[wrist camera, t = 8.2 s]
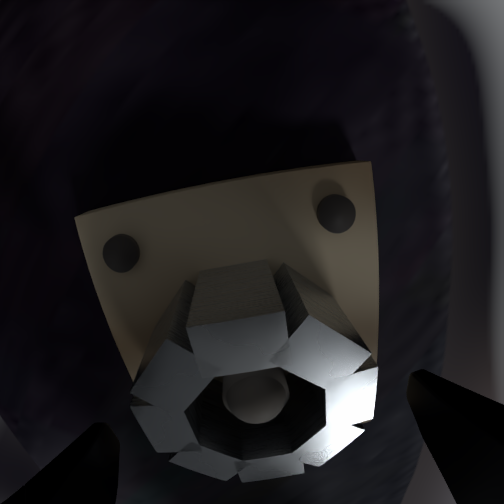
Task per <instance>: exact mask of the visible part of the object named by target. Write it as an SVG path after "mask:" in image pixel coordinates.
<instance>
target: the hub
mask: <svg viewBox="0 0 504 504" xmlns="http://www.w3.org/2000/svg"><path fill="white" fill-rule="evenodd" d="M371 354H372V353H371V351H370V350H369V348H368V347H367V345H366V344H365V342H364V341H363V340H362V338H361V337H360V335H359V334H358V332H357V331H356V329H355V328H354V326H353V325H352V323H351V322H350V320H349V319H348V318H347V316H346V315H345V313H344V312H343V310H342V309H341V307H340V306H339V304H338V303H337V302H336V300H335V299H334V297H333V296H332V295H331V294H329V293H328V292H326V291H325V290H323V289H322V288H320V287H319V286H317V285H316V284H315V283H313V282H312V281H310V280H309V279H307V278H306V277H304V276H303V275H301V274H300V273H298V272H297V271H295V270H294V269H293V268H291V267H290V266H288V265H287V264H285V263H284V262H283V264H282V265H281V266H280V268H279V269H278V270H277V272H276V273H275V274H274V276H272V273H271V270H270V267H269V264H268V261H267V259H264V260H258V261H253V262H247V263H241V264H236V265H230V266H224V267H219V268H213V269H207V270H202V271H199V275H198V279H197V283H196V286H195V285H193V284H192V283H190V282H189V281H187V280H185V281H184V283H183V284H182V286H181V287H180V289H179V290H178V292H177V293H176V295H175V296H174V298H173V299H172V301H171V302H170V304H169V305H168V307H167V308H166V310H165V311H164V313H163V315H162V316H161V318H160V319H159V321H158V322H157V324H156V325H155V327H154V330H153V332H152V335H151V337H150V340H149V342H148V345H147V347H146V350H145V353H144V355H143V358H142V360H141V363H140V366H139V368H138V371H137V374H136V376H135V379H134V382H133V384H132V387H131V390H130V393H131V394H133V398H132V401H131V404H130V408H131V410H132V412H133V413H134V415H135V417H136V419H137V421H138V422H139V424H140V426H141V427H142V429H143V431H144V433H145V434H146V436H147V438H148V439H149V441H150V442H151V444H152V446H153V447H154V449H155V450H156V452H157V453H160V452H170V456H169V462H172V463H174V464H177V465H179V466H182V467H185V468H187V469H190V470H193V471H196V472H199V473H202V474H205V475H208V476H211V477H214V478H217V479H220V480H223V481H227V480H228V479H230V478H231V477H233V476H234V475H236V474H237V473H238V474H239V477H240V479H241V481H242V482H251V481H259V480H266V479H273V478H279V477H285V476H290V475H296V474H301V473H304V465H303V463H306V464H310V465H314V466H318V467H319V466H321V465H322V464H323V463H325V462H326V461H327V460H329V459H330V458H331V457H333V456H334V455H335V454H337V453H338V452H339V451H340V450H342V449H343V448H344V447H346V446H347V445H348V444H349V443H351V442H352V441H353V440H354V439H355V438H357V437H358V436H359V435H360V434H361V433H363V432H364V431H365V429H364V427H363V425H362V422H363V421H366V420H369V419H372V418H373V413H374V405H375V396H376V387H377V376H378V365H377V364H376V362H375V361H374V359H373V358H372V356H371ZM274 367H281V368H283V369H285V370H287V371H289V373H288V374H287V375H286V376H285V377H286V381H287V385H288V389H289V399H288V401H287V403H286V405H285V406H284V407H283V408H282V410H281V411H280V413H279V414H278V415H277V416H276V417H275V418H273V419H272V420H270V421H267V422H265V423H259V424H252V423H247V422H244V421H242V420H240V419H238V418H237V417H236V416H235V415H234V414H233V413H231V412H230V411H229V410H228V409H227V408H226V407H225V405H224V403H223V383H222V382H220V381H218V380H216V379H214V377H218V376H225V375H232V374H239V373H245V372H251V371H257V370H263V369H269V368H274Z"/></svg>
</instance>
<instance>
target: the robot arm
mask: <svg viewBox="0 0 504 504" xmlns="http://www.w3.org/2000/svg"><path fill="white" fill-rule="evenodd" d="M407 400H408V402H409V404H410V407H411V409H412V412H413V414H414V417H415V419H416V422H417V424H418V427H419V430H420V432H421V435H422V437H423V439H424V441H425V443H426V445H427V447H428V449H429V451H430V452H431V454H432V456H433V458H434V460H435V462H436V464H437V466H438V468H439V470H440V472H441V473H442V475H443V477H444V479H445V481H446V483H447V485H448V487H449V489H450V491H451V493H452V495H453V497H454V499H455V501H456V503H457V504H504V405H503V404H501V403H498V402H496V401H494V400H492V399H489V398H487V397H484V396H482V395H480V394H477V393H475V392H473V391H471V390H469V389H466V388H464V387H462V386H459V385H457V384H455V383H453V382H451V381H448V380H446V379H444V378H442V377H440V376H437V375H435V374H433V373H431V372H429V371H426V370H424V369H421V370H418V371H415V372H412V373H411V374H410V376H409V381H408V387H407ZM119 452H120V443H119V440H118V438H117V437H116V435H115V434H114V432H113V431H112V429H111V427H110V426H109V425H108V424H107V423H94V424H93V425H91V426H90V427H89V428H88V429H87V430H86V431H85V432H84V433H83V434H81V435H80V436H79V437H78V438H77V439H76V440H75V441H74V442H72V443H71V444H70V445H69V446H68V447H67V448H66V449H65V450H63V451H62V452H61V453H60V454H59V455H58V456H57V457H56V458H54V459H53V460H52V461H51V462H50V463H49V464H48V465H46V466H45V467H44V468H43V469H42V470H41V471H40V472H38V473H37V474H36V475H35V476H34V477H33V478H32V479H30V480H29V481H28V482H27V483H26V484H25V486H22V487H21V488H20V489H19V490H18V491H16V492H15V493H14V494H13V495H11V496H10V497H9V498H8V499H6V500H5V501H4V502H2V503H1V504H115V502H116V495H117V488H118V471H119Z"/></svg>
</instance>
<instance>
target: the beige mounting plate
mask: <svg viewBox="0 0 504 504" xmlns="http://www.w3.org/2000/svg"><path fill="white" fill-rule="evenodd" d="M74 218H75V222H76V226H77V230H78V233H79V237H80V241H81V244H82V248H83V251H84V255H85V258H86V261H87V264H88V268H89V271H90V274H91V277H92V280H93V283H94V286H95V289H96V292H97V295H98V298H99V300H100V303H101V306H102V309H103V311H104V314H105V317H106V319H107V322H108V324H109V327H110V330H111V332H112V335H113V337H114V339H115V342H116V344H117V347H118V349H119V351H120V354H121V356H122V358H123V360H124V363H125V365H126V367H127V369H128V371H129V374H130V376H131V378H132V380H133V382H134V379H135V376H136V374H137V371H138V368H139V366H140V363H141V360H142V358H143V355H144V353H145V350H146V347H147V345H148V342H149V340H150V337H151V335H152V332H153V330H154V327H155V325H156V324H157V322H158V321H159V319H160V318H161V316H162V315H163V313H164V311H165V310H166V308H167V307H168V305H169V304H170V302H171V301H172V299H173V298H174V296H175V295H176V293H177V292H178V290H179V289H180V287H181V286H182V284H183V283H184V281H185V280H187V281H189V282H190V283H192V284H193V285H195V286H196V283H197V279H198V275H199V271H202V270H207V269H213V268H219V267H224V266H230V265H236V264H241V263H247V262H253V261H258V260H264V259H267V261H268V264H269V267H270V270H271V273H272V276H274V274H275V273H276V272H277V270H278V269H279V268H280V266H281V265H282V264H283V262H284V263H285V264H287V265H288V266H290V267H291V268H293V269H294V270H295V271H297V272H298V273H300V274H301V275H303V276H304V277H306V278H307V279H309V280H310V281H312V282H313V283H315V284H316V285H317V286H319V287H320V288H322V289H323V290H325V291H326V292H328V293H329V294H331V295H332V296H333V297H334V299H335V300H336V302H337V303H338V304H339V306H340V307H341V309H342V310H343V312H344V313H345V315H346V316H347V318H348V319H349V320H350V322H351V323H352V325H353V326H354V328H355V329H356V331H357V332H358V334H359V335H360V337H361V338H362V340H363V341H364V342H365V344H366V345H367V347H368V348H369V350H370V351H371V353H372V354H371V356H372V358H373V359H374V361H375V362H376V364H377V348H378V323H379V263H378V238H377V221H376V207H375V195H374V185H373V175H372V166H371V161H348V162H340V163H331V164H323V165H316V166H308V167H301V168H294V169H288V170H281V171H275V172H268V173H262V174H256V175H250V176H245V177H239V178H233V179H228V180H222V181H217V182H212V183H207V184H202V185H197V186H192V187H187V188H182V189H178V190H173V191H169V192H164V193H160V194H155V195H151V196H147V197H142V198H138V199H134V200H130V201H126V202H122V203H118V204H114V205H110V206H106V207H102V208H99V209H95V210H91V211H88V212H86V213H83V214H81V215H79V216H77V217H74ZM288 373H289V371H287V370H285V369H283V368H281V367H274V368H269V369H263V370H257V371H251V372H245V373H239V374H232V375H225V376H218V377H214V379H216V380H218V381H220V382H222V383H223V403H224V405H225V407H226V408H227V409H228V410H229V411H230V412H231V413H233V414H234V415H235V416H236V417H237V418H238V419H240V420H242V421H244V422H247V423H252V424H259V423H265V422H267V421H270V420H272V419H273V418H275V417H276V416H277V415H278V414H279V413H280V411H281V410H282V408H283V407H284V406H285V405H286V403H287V401H288V399H289V389H288V385H287V381H286V377H285V376H286V375H287V374H288ZM369 421H371V419H369V420H366V421H363V422H362V423H366V422H369Z"/></svg>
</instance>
